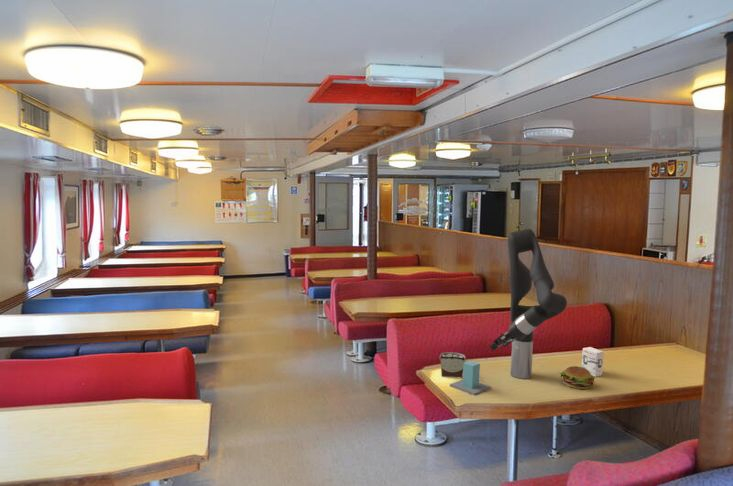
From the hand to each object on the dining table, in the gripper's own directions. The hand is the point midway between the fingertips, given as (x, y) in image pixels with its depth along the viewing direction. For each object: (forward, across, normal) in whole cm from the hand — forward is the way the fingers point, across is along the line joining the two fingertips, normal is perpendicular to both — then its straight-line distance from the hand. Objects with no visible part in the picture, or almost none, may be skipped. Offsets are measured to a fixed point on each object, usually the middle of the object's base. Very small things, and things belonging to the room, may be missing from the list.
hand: (497, 346), depth 211 cm
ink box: (+6, -60, +25) cm, 66 cm away
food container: (+34, -5, -4) cm, 35 cm away
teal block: (+23, +1, +6) cm, 23 cm away
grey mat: (+23, +1, +6) cm, 24 cm away
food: (+4, -40, +26) cm, 48 cm away
